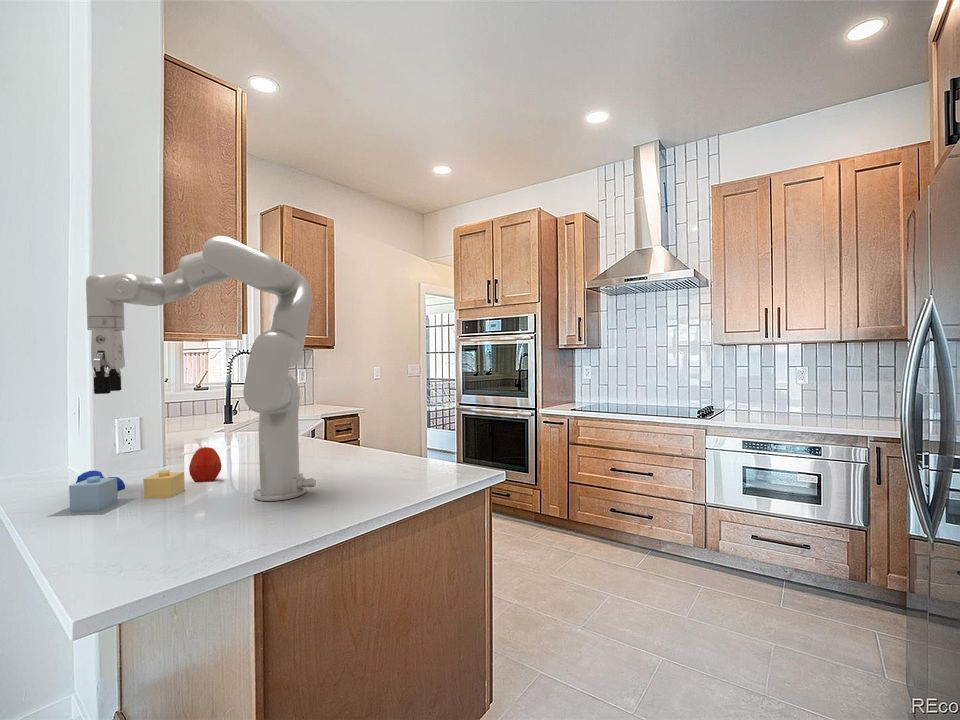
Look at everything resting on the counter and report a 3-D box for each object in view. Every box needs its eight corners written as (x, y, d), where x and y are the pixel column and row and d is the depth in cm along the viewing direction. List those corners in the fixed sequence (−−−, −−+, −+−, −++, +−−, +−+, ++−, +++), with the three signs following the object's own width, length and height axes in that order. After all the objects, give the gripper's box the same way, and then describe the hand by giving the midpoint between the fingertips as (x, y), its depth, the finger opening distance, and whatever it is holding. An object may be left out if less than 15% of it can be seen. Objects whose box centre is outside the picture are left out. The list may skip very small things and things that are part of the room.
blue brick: (117, 502, 120) (116, 473, 120) (99, 510, 114) (97, 480, 114) (90, 503, 120) (89, 474, 120) (70, 511, 113) (68, 481, 113)
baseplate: (137, 503, 123) (136, 494, 123) (103, 519, 111) (103, 509, 111) (87, 504, 123) (86, 496, 122) (47, 521, 111) (47, 511, 110)
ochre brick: (184, 494, 130) (183, 468, 130) (170, 502, 123) (169, 474, 123) (159, 495, 129) (158, 468, 129) (144, 503, 123) (143, 475, 123)
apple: (228, 481, 143) (226, 444, 143) (199, 488, 136) (197, 449, 136) (212, 477, 147) (211, 441, 147) (183, 484, 140) (182, 446, 140)
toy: (71, 496, 133) (104, 500, 127) (70, 473, 133) (102, 476, 127) (99, 489, 140) (132, 492, 133) (98, 467, 139) (130, 469, 133)
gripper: (114, 322, 118) (116, 394, 119) (132, 326, 134) (134, 389, 135) (75, 322, 115) (77, 395, 116) (98, 326, 131) (100, 390, 132)
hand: (108, 392), depth 125 cm, fingers open, 9 cm apart
